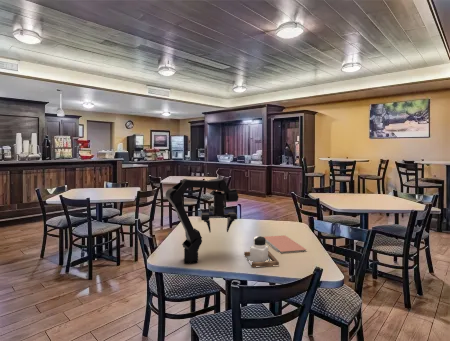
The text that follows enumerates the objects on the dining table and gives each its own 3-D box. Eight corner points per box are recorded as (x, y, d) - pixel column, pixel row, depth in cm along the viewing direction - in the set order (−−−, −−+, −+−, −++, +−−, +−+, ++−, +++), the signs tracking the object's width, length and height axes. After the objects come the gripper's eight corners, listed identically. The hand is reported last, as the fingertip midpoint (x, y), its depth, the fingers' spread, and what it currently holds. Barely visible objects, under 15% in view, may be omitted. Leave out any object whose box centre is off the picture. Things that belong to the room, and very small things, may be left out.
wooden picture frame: (252, 267, 142) (252, 263, 142) (244, 255, 157) (244, 251, 157) (278, 266, 144) (278, 262, 144) (268, 254, 160) (268, 250, 160)
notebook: (260, 239, 187) (260, 236, 187) (285, 237, 191) (285, 234, 191) (279, 254, 161) (279, 251, 161) (306, 252, 165) (306, 249, 165)
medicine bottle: (268, 259, 152) (268, 236, 151) (262, 264, 146) (263, 240, 145) (255, 256, 155) (256, 234, 154) (249, 261, 149) (250, 237, 148)
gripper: (233, 199, 163) (232, 227, 164) (199, 200, 160) (199, 228, 161) (237, 203, 152) (237, 233, 153) (201, 204, 149) (201, 234, 150)
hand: (218, 232), depth 155 cm, fingers open, 9 cm apart
